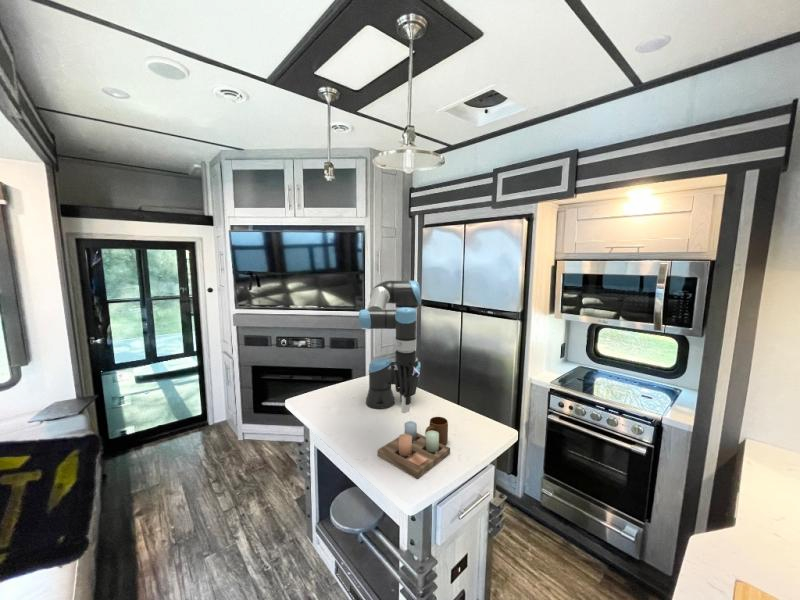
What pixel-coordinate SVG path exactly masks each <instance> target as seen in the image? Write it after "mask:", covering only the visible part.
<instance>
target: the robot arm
mask: <svg viewBox="0 0 800 600" xmlns="http://www.w3.org/2000/svg"><path fill="white" fill-rule="evenodd" d="M369 299H370V300H369V302H368V305H367V308H365V309H360V310H359V313H358V326H359V328H360V329H364V330H365V329H367V330H373V329H375V330H385V329H387V330H395V350H396V351H395V361H393V360H392V359H391V358H389V357H380V358H376V359H373V360H372V361H370V363H369V366H368V392H367V395H366V397H365V405H366V406H367V407H369V408H371V409H374V410H382V409H383V410H384V409H388V408H391V407H392V406H394V405H395V396H394V394H393V389H392V385H395V392H397V393H398V394H399V395H400V398H399V401H400V403H401V413H402V414H404V415H405V414H407V413H409V412H410V404H411V403H412V402H411V401H412V398H411V397H412V396H414V395H416V394H417V388H418V383H419V380H420V376H421V375H422V372H421V362H420V361H419V359H418V357H417V320H418V319H417V318H418V317H417V309H419V305H420V304H422V296H421V289H420V283H419V281H416V280H385V281H382V282H379V283H378V284H376V285H375V286H374V287H373V288H372V289H371V291H370V293H369ZM387 304H391V305H392V304H394V305H395V308H396V309H386V307H387Z"/></svg>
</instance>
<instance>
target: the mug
mask: <svg viewBox="0 0 800 600" xmlns="http://www.w3.org/2000/svg"><path fill="white" fill-rule="evenodd" d="M431 430H432V431H437V432H438V433H439V443H440V444H443V445H445V446H447V443H448V440H449V437H448V436H449V421H448V419H447V418H445V417H443V416H433V417H431V418H430V419H429V426H427V427H426V429H425V432H424V433H425V434H424V436H426V432H427V431H431Z"/></svg>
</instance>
